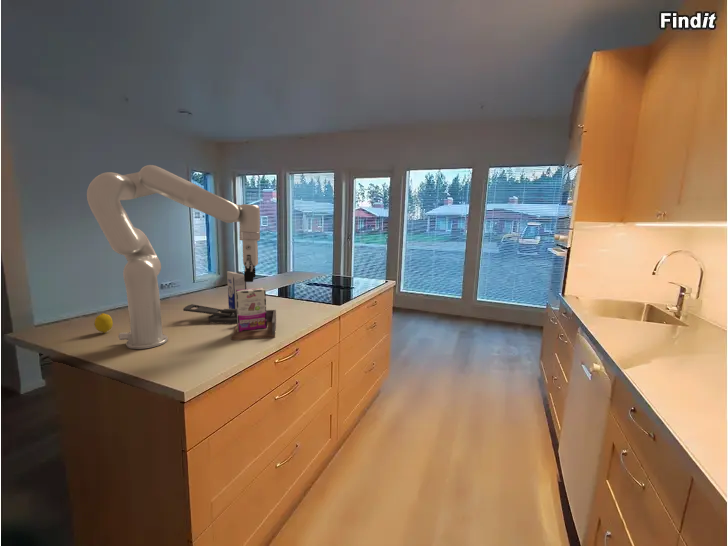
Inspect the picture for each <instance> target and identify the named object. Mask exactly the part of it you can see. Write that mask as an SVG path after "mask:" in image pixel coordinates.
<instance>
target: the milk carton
mask: <svg viewBox="0 0 728 546" xmlns="http://www.w3.org/2000/svg"><path fill="white" fill-rule="evenodd" d="M226 274H227V276H226V277H227V299H228V302H227V303H228V309H237V303H236V290H241V289H248V288H247V286H248V285H247V282H245V281H244V272H243V271H240V270H237V272H235V271H226Z"/></svg>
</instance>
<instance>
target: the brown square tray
mask: <svg viewBox="0 0 728 546" xmlns="http://www.w3.org/2000/svg"><path fill="white" fill-rule="evenodd" d="M266 317H267V328H265V329H257V330H250V331H241V332H239V331H238V323H236V326H235V328H234V331H233V333H232V335H231V338H230V339H231V340H232V341H234V340H235V341H238V340H240V341H241V340H254V339H255V338H258V339H272V338H274V339H275V338H276V332H275V331H277V329H276V328H277V310H276V309H266Z"/></svg>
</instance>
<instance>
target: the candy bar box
mask: <svg viewBox="0 0 728 546" xmlns="http://www.w3.org/2000/svg"><path fill="white" fill-rule="evenodd" d="M266 292H267V291H266V289H265V288H264V287H256V288H247V289H241V290H236V303H237V323H238V331H239V332H241V331H250V330H257V329H265V328H267V317H266V310H267V299H266V298H267V296H266ZM237 323H236V324H237Z"/></svg>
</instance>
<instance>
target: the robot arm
mask: <svg viewBox="0 0 728 546" xmlns="http://www.w3.org/2000/svg"><path fill="white" fill-rule="evenodd" d="M155 194H158V195H161V196H163V197H165V198H167V199H169V200H172V201H174V202H176V203H179V204H181V205H183V206H185V207H188V208H190V209H195V210H197V211H199V212H201V213H204V214H205V215H208V216H210V217H213V218H215V219H217V220H220V221H221V222H223V223H228V224H233V223H239V224H238V225H239V240H240V241H242V264H243V266H244V272H243V275H244V281H245V282H246V283H253V282H254V278H256V266H258V265H259V248H258V242H259V241H261V230H260V229H261V228H260V227H261V212H260V211H261V210H260V206H258V205H257V204H247V203H246V204H245V203H243V204H237V203H236V204H235V203H233V202H231V201H229V200H228V199H225V198H223V197H222V196H219V195H217V194H215V193H214V192H213V193H212V192H210V191H208V190H206V189H204V188H203V187H201V186H199V185H198V184H196V183H194V182H192V181H189V180H187V179H185V178H183V177H181V176H178V175H176V174H174V173H172V172H170V171H168V170H166V169H164V168H162V167H159V166H157V165H155V164H154V165H153V164H148V165H145V166H143V167H142V168H140V170H139V171H138V172H137V171H136V172H132V173H127V174H120V173H117V172H111V171H109V172H106V171H105V172H102V173H100V174H99V175H97V176H95V177H94V178H93V179H92V180H91V182H90V183H89V185H88V187H87V190H86V198H87V203H88V206H89V208H90V211H91V213H92V215H93V216H94V218H95V220H96V221H97V223H98V225H99V228H100V229H101V232H103V235H104V237H105V238H106V240H107V241H108V243H109V246H110V247H111V249H112V250H113V251H114V252H115V253H117V254H119V255H120V256H121V255H123V256H124V257H125V260H126V261H127V262H126V264H125V265H124V267H123V271H122V272H123V274H122V275H123V280H124V281H123V282H124V285H125V291H126V297H127V300H126V301H127V308H128V317H129V327H130V330H129V332H119V333H118V336H117V337H118V338H119V341H122V340H123V341H124V340H127V341H126V343H125V344H126V347H127V348H128V349H132V350H143V349H144V350H145V349H152V348H154V347H158V346H159V347H160V346H161V345H163V344H165V343H166V342H168V339H169V337H168V335H166V334H163V325H162V324H163V323H162V311H161V310H162V309H161V298H160V297H161V296H160V290H159V289H160V288H159V284H158V283H159V282H158V276H159V275H160V273H161V270H162V263H161V261H160V259H159V257H158V254H157V253H156V251H155V249H154V247H153V246H152V243H151V242H150V240H149V238H148V236H147V235H146V234H145V233H144V231H142V230H141V229H139V228H138V227H135V226H134V225H133V223H132V221H131V219H130V218H129V215H128V213H127V211H126V210H125V208H124V207H123V205H122V203H121V201H129V200H133V199H138V198H143V197H147V196H152V195H155Z"/></svg>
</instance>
